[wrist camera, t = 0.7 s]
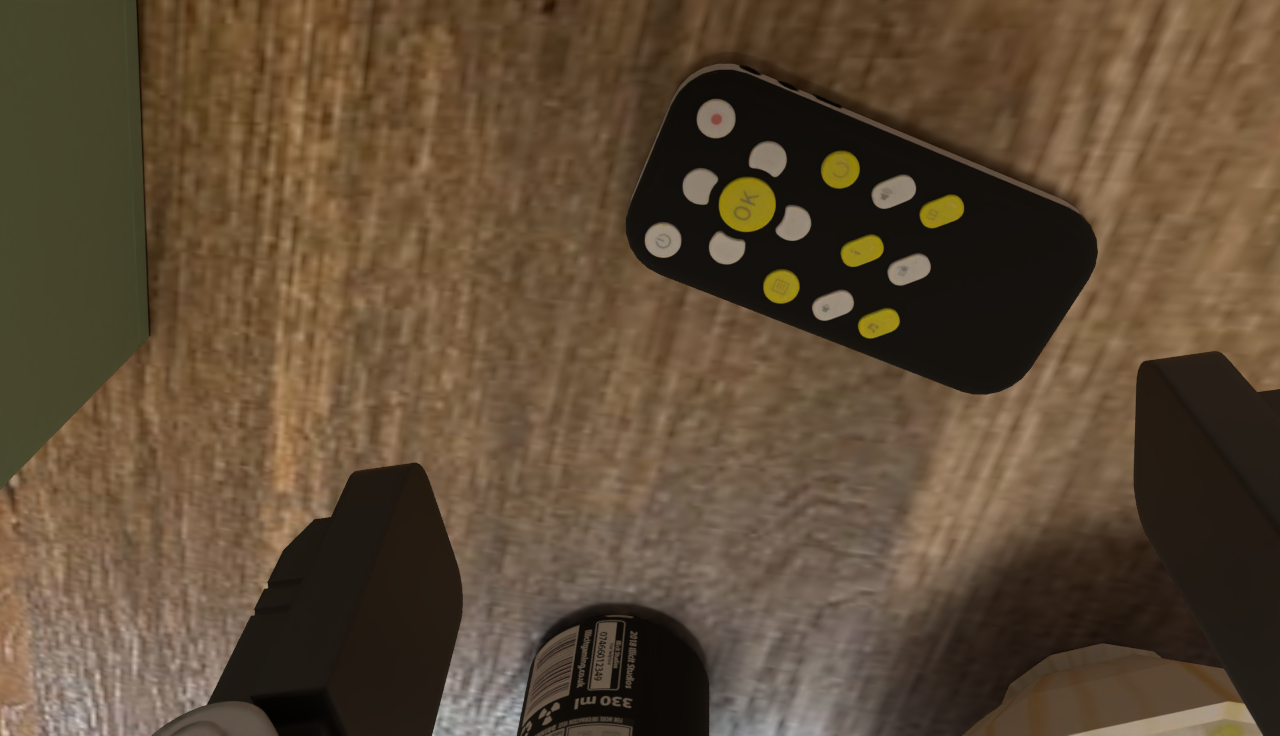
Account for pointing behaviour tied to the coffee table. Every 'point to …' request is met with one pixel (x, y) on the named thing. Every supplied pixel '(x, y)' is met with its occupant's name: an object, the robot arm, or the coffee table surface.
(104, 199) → the lunchbox
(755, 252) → the remote control
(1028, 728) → the bowl
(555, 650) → the beverage can
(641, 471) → the coffee table surface
